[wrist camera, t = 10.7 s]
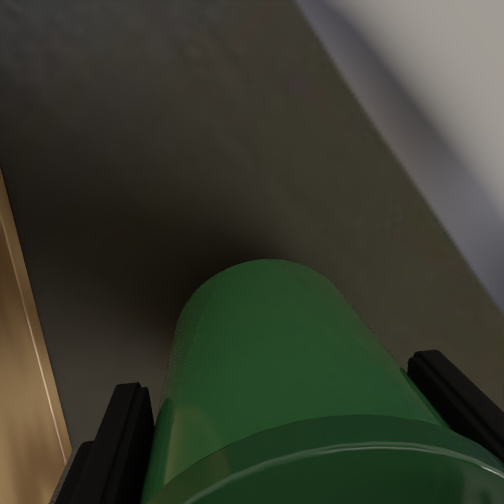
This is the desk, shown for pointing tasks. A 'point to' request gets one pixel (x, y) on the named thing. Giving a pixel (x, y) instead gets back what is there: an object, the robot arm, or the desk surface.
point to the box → (25, 384)
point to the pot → (299, 405)
